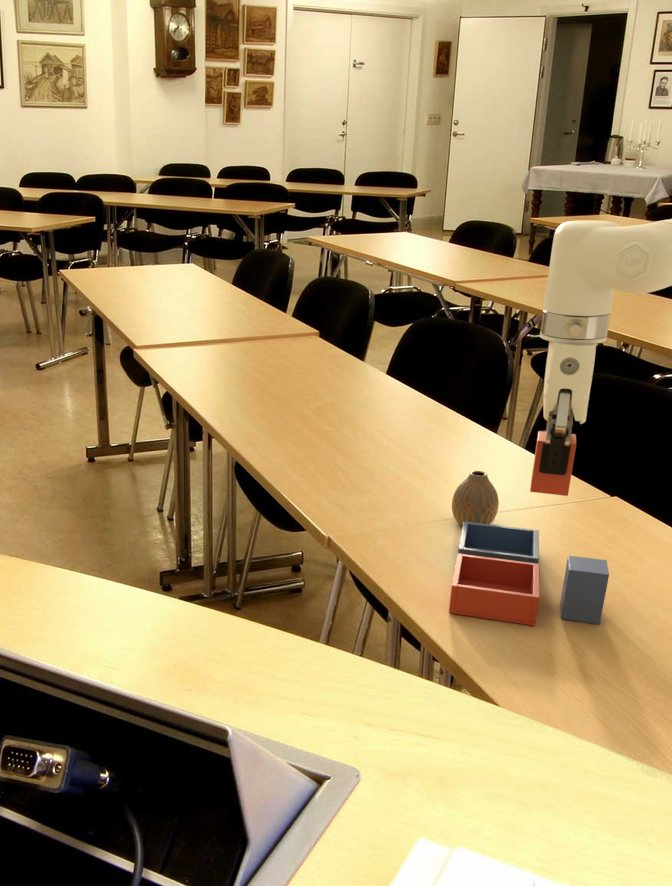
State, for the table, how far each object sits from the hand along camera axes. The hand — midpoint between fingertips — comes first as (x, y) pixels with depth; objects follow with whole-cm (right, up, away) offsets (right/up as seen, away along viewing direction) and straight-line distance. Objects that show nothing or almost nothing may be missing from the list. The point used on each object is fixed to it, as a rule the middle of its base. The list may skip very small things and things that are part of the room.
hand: (552, 465), depth 118 cm
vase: (-1, -8, +26) cm, 27 cm away
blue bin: (-2, -14, +13) cm, 19 cm away
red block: (0, -3, +1) cm, 3 cm away
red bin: (-7, -18, +2) cm, 19 cm away
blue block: (+3, -19, -1) cm, 19 cm away
